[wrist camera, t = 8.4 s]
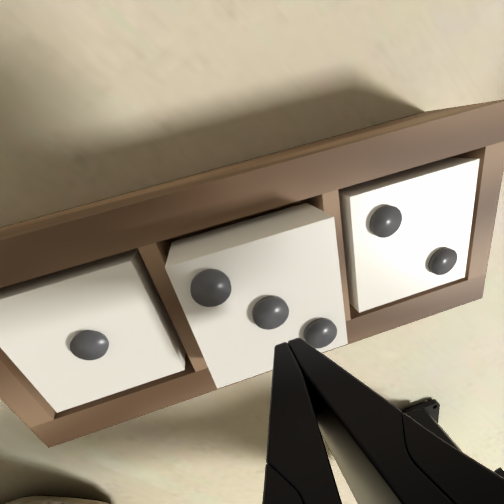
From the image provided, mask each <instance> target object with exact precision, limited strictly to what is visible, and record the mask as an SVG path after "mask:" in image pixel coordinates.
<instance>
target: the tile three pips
mask: <svg viewBox="0 0 504 504" xmlns="http://www.w3.org/2000/svg"><path fill="white" fill-rule="evenodd" d="M165 269H166V272H167V274H168V276H169V279H170V281H171V283H172V285H173V288H174V290H175V292H176V295H177V297H178V299H179V302H180V304H181V306H182V308H183V311H184V313H185V315H186V318H187V320H188V322H189V325H190V327H191V329H192V332H193V334H194V336H195V338H196V341H197V343H198V345H199V348H200V350H201V352H202V355H203V357H204V359H205V361H206V364H207V366H208V368H209V371H210V373H211V375H212V378H213V380H214V382H215V385H216V387H217V389H218V388H221V387H224V386H227V385H230V384H233V383H236V382H239V381H241V380H244V379H247V378H250V377H253V376H256V375H259V374H262V373H265V372H268V371H270V370H273V359H274V347H275V345H278V344H281V343H283V342H287V343H288V341H289V340H292V339H295V338H301V339H303V340H304V341H306V342H307V343H308V344H310V345H311V346H313V347H314V348H315V349H317V350H318V351H319V352H321V353H323V352H325V351H328V350H331V349H334V348H337V347H340V346H343V345H346V344H348V340H347V331H346V321H345V312H344V303H343V294H342V285H341V275H340V266H339V257H338V248H337V239H336V229H335V220H334V216H332V215H330V214H328V213H326V212H324V211H322V210H320V209H318V208H316V207H314V206H312V205H310V204H308V203H303V204H300V205H297V206H293V207H290V208H286V209H283V210H280V211H276V212H273V213H269V214H266V215H262V216H259V217H256V218H252V219H249V220H245V221H242V222H239V223H235V224H232V225H228V226H225V227H221V228H218V229H215V230H211V231H208V232H204V233H201V234H198V235H194V236H191V237H187V238H184V239H180V240H177V241H174V242H172V243H171V247H170V250H169V254H168V258H167V261H166V265H165Z"/></svg>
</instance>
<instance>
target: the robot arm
mask: <svg viewBox="0 0 504 504" xmlns="http://www.w3.org/2000/svg"><path fill="white" fill-rule="evenodd" d="M439 407H440V404H439V403H438V402H437V401H436V400H435V399H433V400H430V401H427V402H425V403H422V404H419V405H417V406H414V407H411V408H409V409H406V410H403V411H401V410H400V409H398V408H397V407H396V406H394V405H393V404H391V403H390V402H389V401H387V400H386V399H384V398H383V397H382V396H380V395H379V394H378V393H376V392H375V391H373V390H372V389H371V388H369V387H368V386H366V385H365V384H364V383H362V382H361V381H360V380H358V379H357V378H355V377H354V376H353V375H351V374H350V373H349V372H347V371H346V370H344V369H343V368H342V367H340V366H339V365H337V364H336V363H335V362H333V361H332V360H331V359H329V358H328V357H326V356H325V355H324V354H322V353H321V352H319V351H318V350H317V349H315V348H314V347H313V346H311V345H310V344H308V343H307V342H306V341H304V340H303V339H301V338H295V339H292V340H289V341H288V343H287V342H283V343H281V344H278V345H275V347H274V359H273V373H272V387H271V401H270V415H269V429H268V443H267V457H266V463H267V464H266V468H265V481H264V492H263V502H262V504H342V502H341V499H340V496H339V492H338V489H337V486H336V482H335V479H334V475H333V472H332V469H331V465H330V462H329V459H328V455H327V452H326V449H325V445H324V442H323V439H322V435H323V437H324V439H325V441H326V443H327V445H328V447H329V449H330V451H331V453H332V454H333V456H334V458H335V460H336V462H337V464H338V466H339V468H340V470H341V472H342V474H343V476H344V478H345V480H346V482H347V484H348V486H349V487H350V489H351V491H352V493H353V495H354V497H355V499H356V501H357V503H358V504H504V471H503V470H502V469H501V468H498V469H496V470H495V471H494V472H493V471H492V470H490V469H488V468H487V467H485V466H483V465H482V464H480V463H478V462H477V461H475V460H474V459H472V458H470V457H469V456H467V455H466V454H464V453H463V452H462V451H461V450H460V448H459V447H458V446H457V445H456V444H455V443H454V442H453V440H452V439H451V438H450V437H449V436H448V435H447V433H446V432H445V431H444V430H443V429H442V428H441V427H440V425H439V424H438V417H439ZM320 431H321V432H320ZM321 433H322V435H321Z"/></svg>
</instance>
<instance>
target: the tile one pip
mask: <svg viewBox="0 0 504 504" xmlns="http://www.w3.org/2000/svg"><path fill="white" fill-rule="evenodd" d="M0 348H1V349H2V350H3V351H4V352H5V353H6V355H7V356H8V357H9V358H10V359H11V360H12V362H13V363H14V364H15V365H16V366H17V367H18V368H19V370H20V371H21V372H22V373H23V374H24V375H25V376H26V378H27V379H28V380H29V381H30V382H31V383H32V385H33V386H34V387H35V388H36V389H37V390H38V391H39V393H40V394H41V395H42V396H43V397H44V398H45V399H46V401H47V402H48V403H49V404H50V405H51V406H52V408H53V409H54V410H55V411H56V412H57V413H58V412H61V411H64V410H67V409H70V408H73V407H76V406H79V405H82V404H85V403H88V402H91V401H94V400H97V399H100V398H103V397H106V396H109V395H112V394H115V393H117V392H120V391H123V390H126V389H129V388H132V387H135V386H138V385H141V384H144V383H147V382H150V381H153V380H156V379H159V378H162V377H165V376H168V375H171V374H174V373H177V372H180V371H183V370H185V356H186V350H185V348H184V346H183V344H182V342H181V340H180V338H179V335H178V333H177V331H176V329H175V327H174V325H173V323H172V321H171V318H170V316H169V314H168V312H167V310H166V308H165V306H164V303H163V301H162V299H161V297H160V295H159V293H158V291H157V288H156V286H155V284H154V282H153V280H152V278H151V276H150V273H149V271H148V269H147V267H146V265H145V263H144V261H143V258H142V256H141V254H140V252H139V250H138V248H136V249H132V250H129V251H126V252H122V253H119V254H115V255H112V256H108V257H105V258H102V259H98V260H95V261H91V262H88V263H84V264H81V265H78V266H74V267H71V268H67V269H64V270H60V271H57V272H54V273H50V274H47V275H43V276H40V277H36V278H33V279H30V280H26V281H23V282H19V283H16V284H12V285H9V286H6V287H2V288H0Z"/></svg>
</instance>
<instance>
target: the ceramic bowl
mask: <svg viewBox="0 0 504 504" xmlns="http://www.w3.org/2000/svg"><path fill="white" fill-rule="evenodd" d="M5 504H108V503H106V502H101V501H96V500H88V499H80V498H69V497H50V496H29V497H22V498H19V499H16V500H13V501H10V502H8V503H5Z"/></svg>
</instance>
